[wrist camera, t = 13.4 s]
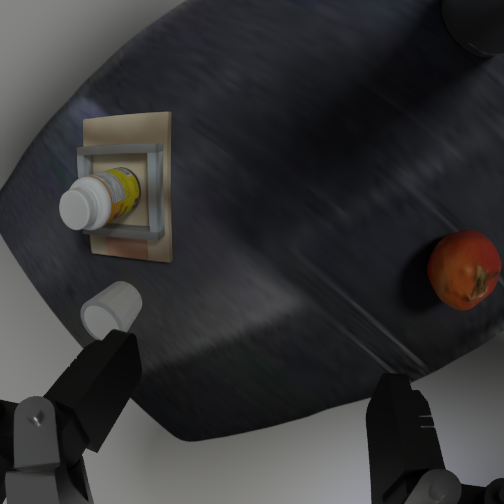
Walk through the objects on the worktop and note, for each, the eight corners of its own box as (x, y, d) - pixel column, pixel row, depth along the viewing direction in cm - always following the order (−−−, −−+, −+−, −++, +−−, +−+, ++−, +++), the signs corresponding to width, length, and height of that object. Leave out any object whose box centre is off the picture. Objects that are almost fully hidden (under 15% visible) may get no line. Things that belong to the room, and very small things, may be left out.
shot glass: (144, 281, 41) (119, 307, 35) (148, 322, 44) (127, 351, 38) (102, 273, 42) (75, 296, 36) (108, 313, 45) (85, 339, 38)
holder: (88, 119, 34) (73, 120, 31) (171, 112, 33) (160, 111, 30) (95, 250, 41) (83, 258, 38) (172, 259, 39) (163, 269, 37)
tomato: (407, 274, 36) (428, 308, 28) (443, 208, 32) (474, 228, 25) (458, 299, 36) (483, 332, 28) (492, 240, 32) (524, 264, 25)
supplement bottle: (114, 216, 37) (65, 244, 28) (100, 175, 36) (46, 192, 26) (150, 203, 36) (103, 230, 27) (135, 159, 34) (83, 172, 25)
